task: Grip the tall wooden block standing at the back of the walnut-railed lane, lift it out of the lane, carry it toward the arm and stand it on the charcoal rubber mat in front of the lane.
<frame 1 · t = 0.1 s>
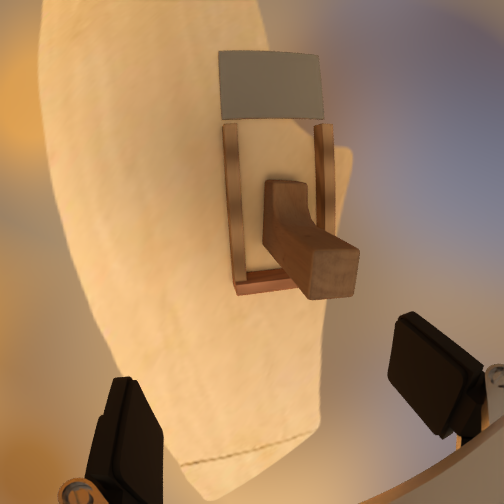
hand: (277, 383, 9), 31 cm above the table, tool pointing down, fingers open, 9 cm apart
lane: (278, 198, 39), on the table
wooden block: (278, 212, 40), on the table
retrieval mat: (272, 83, 35), on the table
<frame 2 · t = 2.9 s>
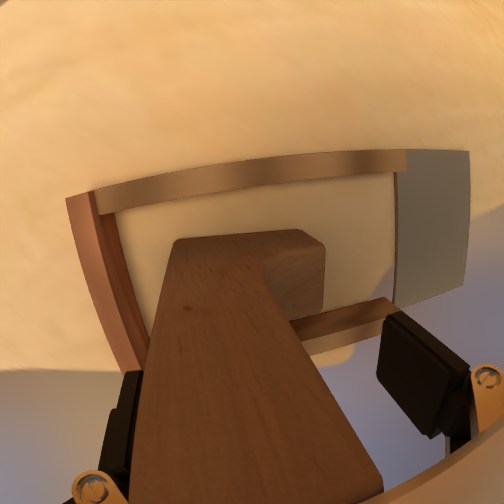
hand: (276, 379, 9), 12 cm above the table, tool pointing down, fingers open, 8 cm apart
lane: (268, 258, 21), on the table
wooden block: (239, 263, 21), on the table, touching gripper
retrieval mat: (435, 226, 23), on the table
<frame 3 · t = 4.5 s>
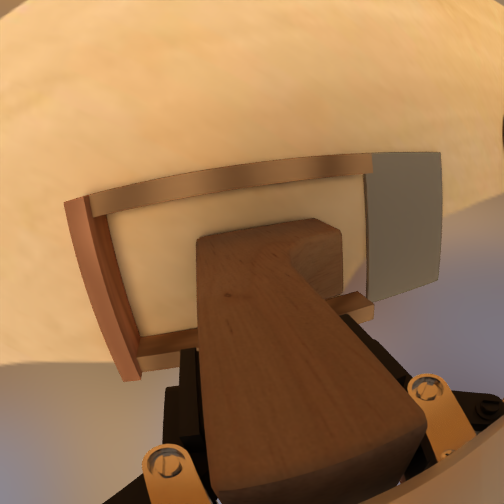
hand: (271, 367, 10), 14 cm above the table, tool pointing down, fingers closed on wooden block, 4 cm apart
lane: (245, 255, 23), on the table
wooden block: (260, 254, 22), point 1 cm above the table, touching gripper
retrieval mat: (407, 224, 26), on the table
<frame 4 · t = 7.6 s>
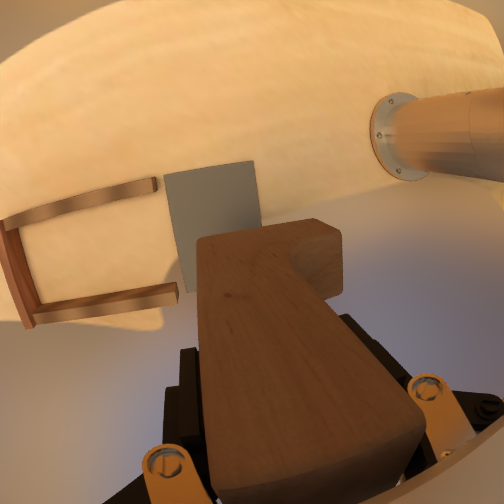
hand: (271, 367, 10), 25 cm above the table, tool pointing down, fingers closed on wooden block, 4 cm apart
lane: (88, 253, 31), on the table
wooden block: (260, 254, 22), point 12 cm above the table, touching gripper
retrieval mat: (217, 228, 33), on the table
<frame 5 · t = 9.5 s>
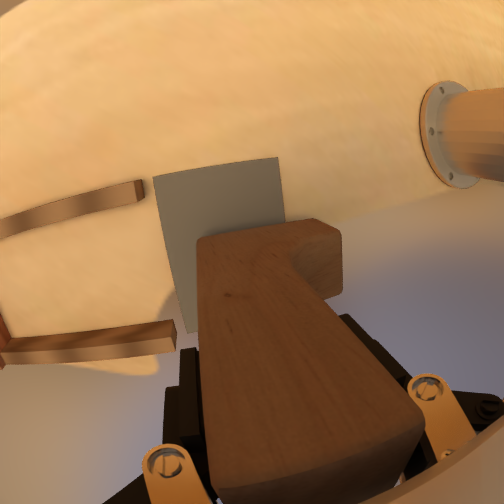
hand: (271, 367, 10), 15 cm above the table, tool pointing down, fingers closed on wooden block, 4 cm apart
lane: (59, 280, 23), on the table
wooden block: (260, 254, 22), point 3 cm above the table, touching gripper
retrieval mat: (228, 249, 25), on the table
when the fingers open (13 cm above the table, at t = 10.8 s): wooden block stays where it is, resting on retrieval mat.
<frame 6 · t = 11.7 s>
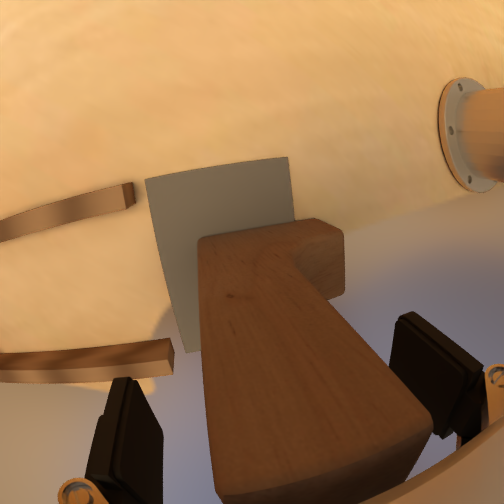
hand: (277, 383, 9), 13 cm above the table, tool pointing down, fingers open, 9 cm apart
lane: (44, 294, 20), on the table
wooden block: (262, 255, 22), resting on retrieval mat
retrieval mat: (231, 261, 22), on the table
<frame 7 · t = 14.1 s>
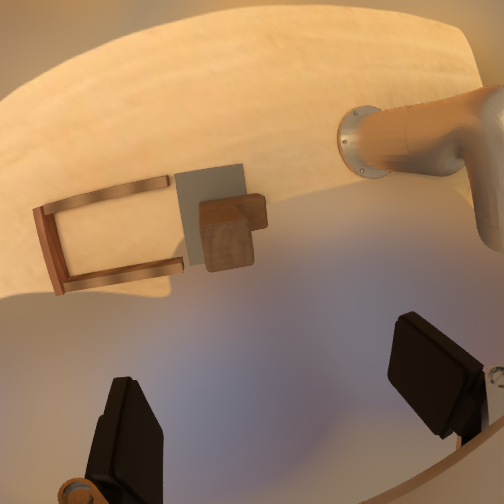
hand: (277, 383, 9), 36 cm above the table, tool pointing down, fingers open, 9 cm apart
lane: (113, 233, 41), on the table
wooden block: (230, 211, 44), resting on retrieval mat
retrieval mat: (215, 214, 44), on the table
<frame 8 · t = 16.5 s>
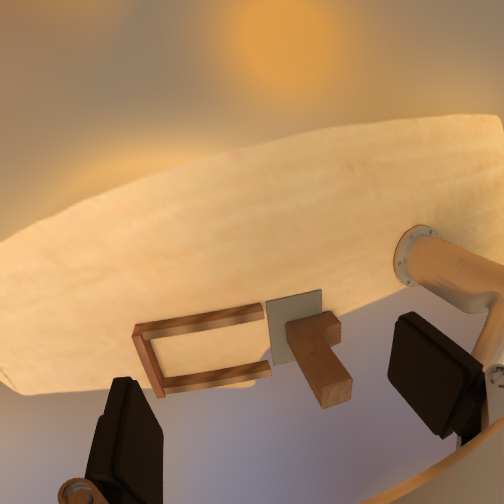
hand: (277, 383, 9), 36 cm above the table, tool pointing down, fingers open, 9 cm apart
lane: (208, 347, 50), on the table
wooden block: (308, 326, 52), resting on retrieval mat
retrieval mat: (296, 329, 52), on the table
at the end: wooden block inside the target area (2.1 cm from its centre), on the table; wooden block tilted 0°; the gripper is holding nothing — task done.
